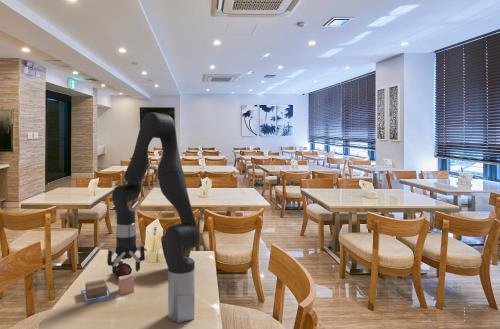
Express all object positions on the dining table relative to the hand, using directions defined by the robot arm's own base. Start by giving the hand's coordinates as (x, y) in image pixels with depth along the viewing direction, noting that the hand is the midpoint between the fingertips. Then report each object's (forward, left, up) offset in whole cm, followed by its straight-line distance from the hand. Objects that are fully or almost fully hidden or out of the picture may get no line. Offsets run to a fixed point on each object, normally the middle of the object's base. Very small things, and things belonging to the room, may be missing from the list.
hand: (126, 272), depth 146 cm
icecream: (+15, -2, -8) cm, 17 cm away
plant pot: (+13, -26, -8) cm, 30 cm away
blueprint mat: (+2, +11, -8) cm, 14 cm away
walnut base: (+3, +11, -7) cm, 14 cm away
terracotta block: (0, 0, -8) cm, 8 cm away
